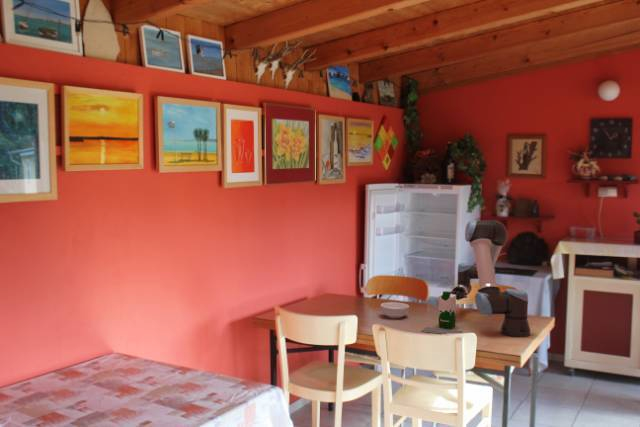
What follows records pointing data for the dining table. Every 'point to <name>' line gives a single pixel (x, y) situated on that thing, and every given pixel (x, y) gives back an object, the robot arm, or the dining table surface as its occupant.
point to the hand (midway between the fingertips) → (448, 299)
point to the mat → (439, 330)
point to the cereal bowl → (394, 309)
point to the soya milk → (447, 310)
